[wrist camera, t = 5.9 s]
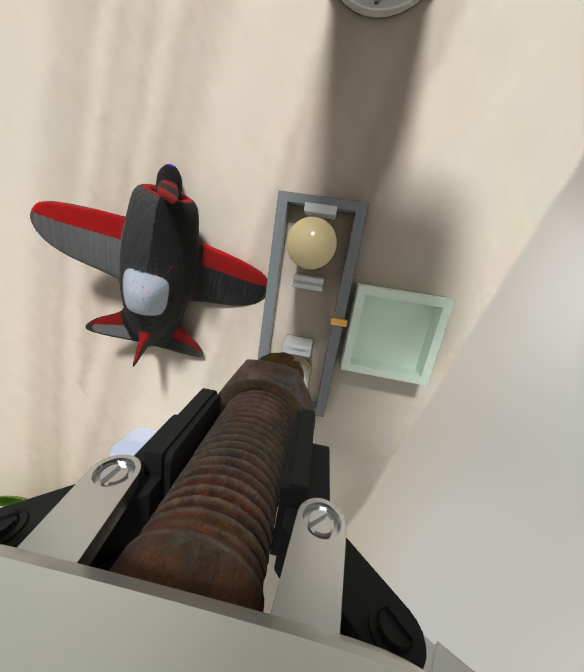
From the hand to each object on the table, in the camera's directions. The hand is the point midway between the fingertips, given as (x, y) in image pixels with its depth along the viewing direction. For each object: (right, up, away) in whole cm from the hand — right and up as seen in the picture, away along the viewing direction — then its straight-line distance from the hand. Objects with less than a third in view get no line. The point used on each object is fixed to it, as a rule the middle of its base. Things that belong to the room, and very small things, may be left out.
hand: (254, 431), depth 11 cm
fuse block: (+3, +7, +26) cm, 27 cm away
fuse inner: (+5, +15, +23) cm, 28 cm away
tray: (+14, +5, +25) cm, 29 cm away
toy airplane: (-15, +13, +27) cm, 33 cm away
